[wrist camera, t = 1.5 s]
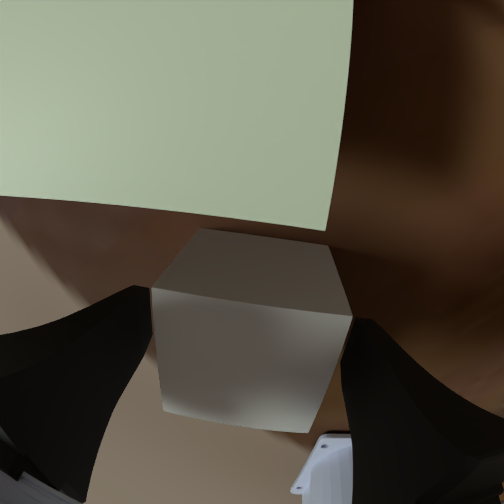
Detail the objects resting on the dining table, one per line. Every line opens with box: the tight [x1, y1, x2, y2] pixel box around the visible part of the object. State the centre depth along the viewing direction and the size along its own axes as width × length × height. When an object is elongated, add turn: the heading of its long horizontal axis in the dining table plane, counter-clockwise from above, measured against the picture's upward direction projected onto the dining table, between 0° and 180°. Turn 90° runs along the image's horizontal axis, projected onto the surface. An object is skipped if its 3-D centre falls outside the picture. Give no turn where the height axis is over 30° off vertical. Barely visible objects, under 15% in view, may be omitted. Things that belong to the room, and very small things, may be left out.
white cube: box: [152, 228, 353, 433], centre depth 10 cm, size 5×5×5 cm
